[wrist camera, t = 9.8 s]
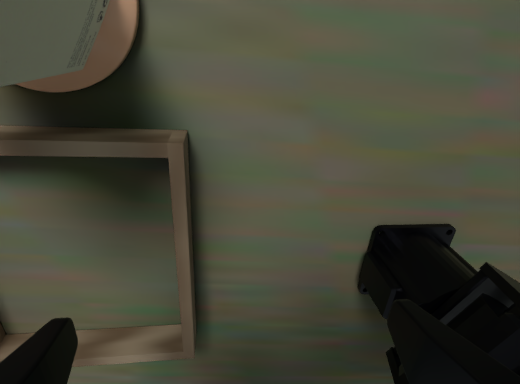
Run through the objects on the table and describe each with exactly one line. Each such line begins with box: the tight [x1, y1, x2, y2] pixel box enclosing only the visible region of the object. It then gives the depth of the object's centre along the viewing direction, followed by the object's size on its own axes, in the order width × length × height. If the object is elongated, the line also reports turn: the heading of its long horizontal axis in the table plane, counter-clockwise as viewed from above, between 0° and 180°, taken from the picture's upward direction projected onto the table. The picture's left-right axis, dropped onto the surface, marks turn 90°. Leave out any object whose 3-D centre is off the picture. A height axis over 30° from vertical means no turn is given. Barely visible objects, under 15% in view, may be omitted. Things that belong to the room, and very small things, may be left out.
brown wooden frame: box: [0, 125, 197, 367], centre depth 20 cm, size 15×17×2 cm
